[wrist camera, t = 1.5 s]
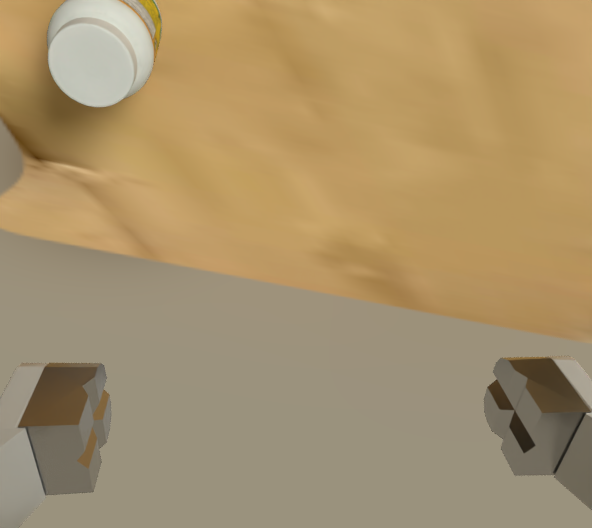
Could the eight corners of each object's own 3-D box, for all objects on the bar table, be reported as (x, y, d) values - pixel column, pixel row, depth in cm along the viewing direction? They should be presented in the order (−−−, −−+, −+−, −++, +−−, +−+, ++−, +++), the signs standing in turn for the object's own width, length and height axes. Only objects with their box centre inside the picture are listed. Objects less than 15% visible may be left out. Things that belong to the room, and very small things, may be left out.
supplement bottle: (121, -49, 31) (92, -20, 23) (180, 32, 34) (172, 81, 26) (53, 7, 32) (5, 51, 24) (116, 80, 35) (91, 140, 28)
